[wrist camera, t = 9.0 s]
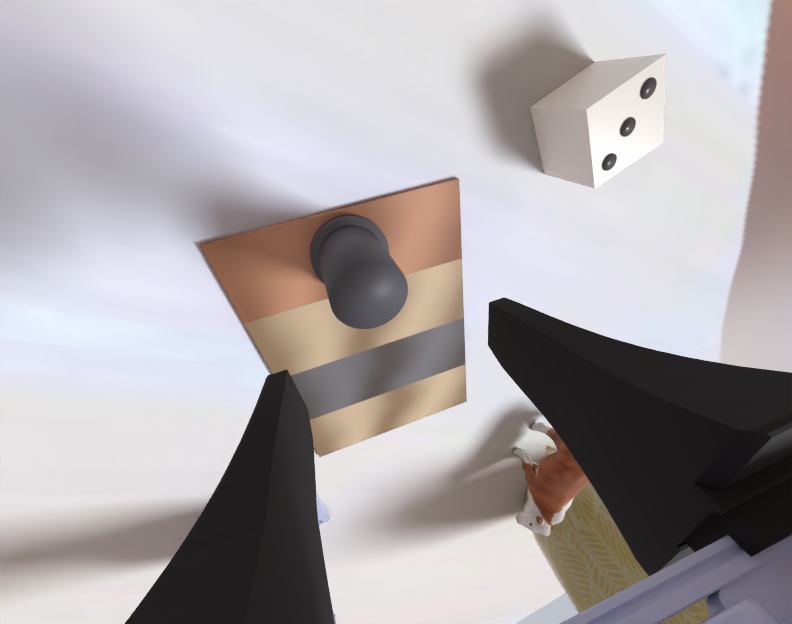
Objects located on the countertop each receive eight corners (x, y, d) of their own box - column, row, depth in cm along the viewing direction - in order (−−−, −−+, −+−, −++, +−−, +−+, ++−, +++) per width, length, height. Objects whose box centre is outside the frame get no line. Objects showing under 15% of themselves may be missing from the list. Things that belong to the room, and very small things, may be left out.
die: (543, 173, 20) (595, 188, 16) (529, 107, 17) (587, 109, 14) (599, 135, 19) (663, 142, 16) (593, 62, 17) (667, 53, 14)
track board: (319, 454, 28) (319, 457, 28) (200, 244, 16) (199, 245, 16) (465, 399, 30) (466, 401, 30) (457, 178, 18) (459, 178, 18)
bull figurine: (484, 475, 40) (525, 548, 34) (550, 400, 35) (612, 469, 28) (508, 474, 42) (550, 543, 36) (573, 403, 37) (636, 468, 31)
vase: (589, 490, 56) (780, 730, 35) (504, 523, 52) (663, 818, 31) (628, 430, 47) (926, 711, 25) (528, 464, 42) (785, 836, 21)
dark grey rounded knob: (323, 295, 19) (335, 347, 15) (298, 226, 17) (305, 267, 13) (391, 275, 20) (420, 319, 16) (378, 205, 17) (409, 237, 13)
